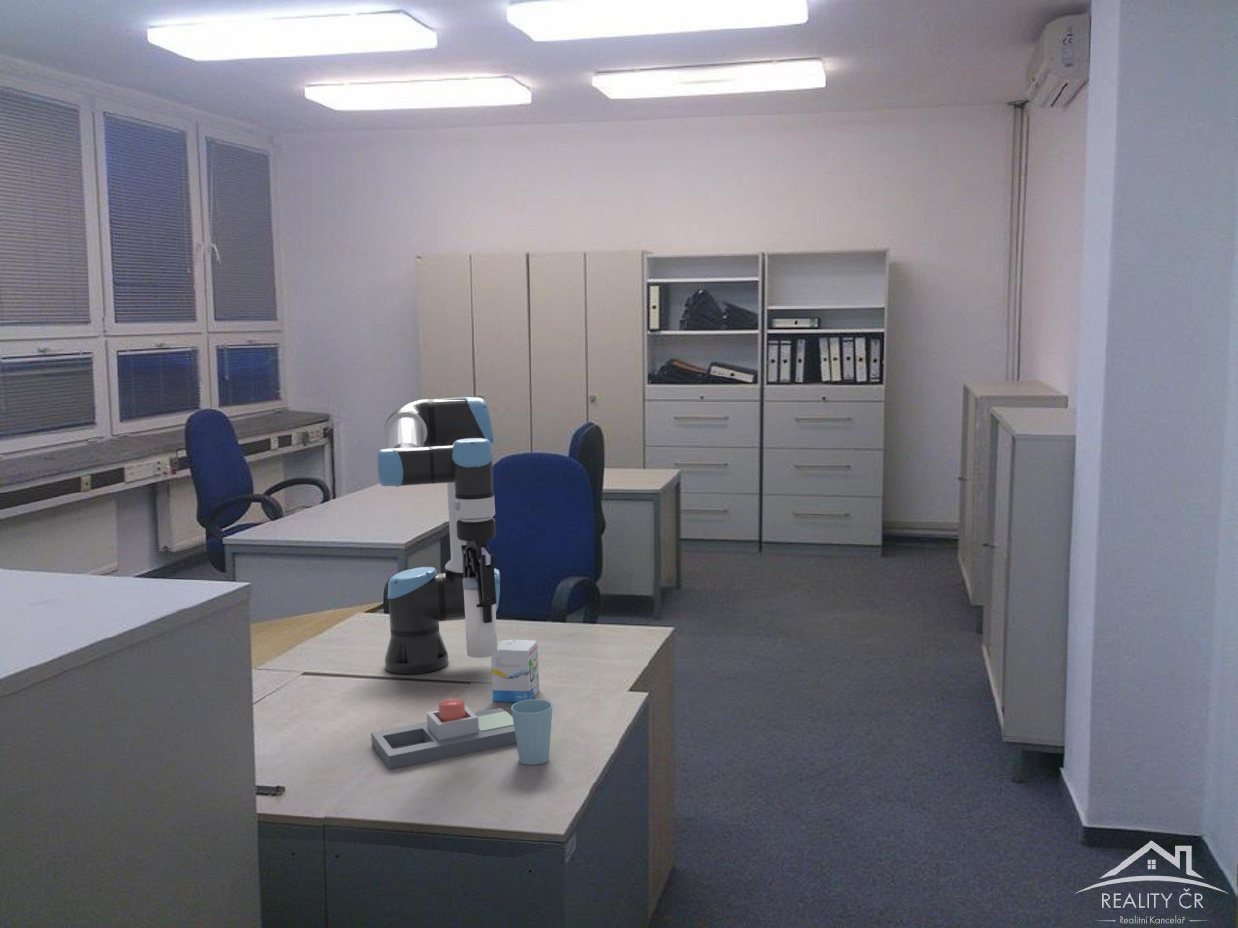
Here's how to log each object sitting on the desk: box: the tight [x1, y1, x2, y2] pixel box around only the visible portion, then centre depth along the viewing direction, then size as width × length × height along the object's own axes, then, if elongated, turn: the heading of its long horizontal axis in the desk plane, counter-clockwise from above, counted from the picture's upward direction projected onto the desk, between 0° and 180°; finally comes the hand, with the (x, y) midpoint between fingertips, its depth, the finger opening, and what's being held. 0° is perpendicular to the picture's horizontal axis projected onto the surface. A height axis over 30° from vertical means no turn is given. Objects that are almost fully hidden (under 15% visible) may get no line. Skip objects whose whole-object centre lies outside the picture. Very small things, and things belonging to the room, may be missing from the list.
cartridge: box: [463, 576, 498, 659], centre depth 217 cm, size 6×6×15 cm
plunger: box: [438, 698, 465, 722], centre depth 216 cm, size 5×5×5 cm
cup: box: [510, 698, 553, 766], centre depth 206 cm, size 8×8×10 cm
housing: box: [370, 705, 517, 770], centre depth 216 cm, size 14×27×6 cm, turn 116°
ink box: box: [490, 639, 540, 703], centre depth 242 cm, size 9×8×12 cm
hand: (481, 633), depth 217 cm, fingers closed on cartridge, 6 cm apart
